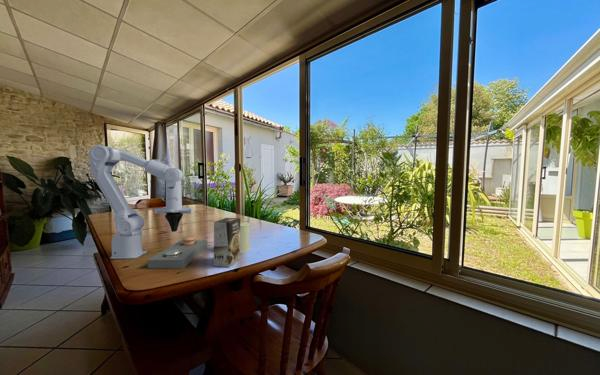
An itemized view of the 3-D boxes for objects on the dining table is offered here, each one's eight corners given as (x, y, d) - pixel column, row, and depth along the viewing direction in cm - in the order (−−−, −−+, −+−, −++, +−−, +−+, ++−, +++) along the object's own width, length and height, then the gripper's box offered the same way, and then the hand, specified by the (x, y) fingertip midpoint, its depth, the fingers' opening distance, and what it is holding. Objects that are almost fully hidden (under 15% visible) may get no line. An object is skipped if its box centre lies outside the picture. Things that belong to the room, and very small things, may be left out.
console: (147, 268, 84) (147, 259, 84) (180, 247, 109) (180, 240, 109) (183, 268, 85) (182, 259, 84) (207, 246, 109) (207, 240, 109)
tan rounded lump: (179, 249, 101) (179, 239, 101) (185, 245, 106) (185, 236, 106) (192, 249, 101) (192, 239, 101) (197, 245, 106) (197, 236, 106)
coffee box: (229, 267, 85) (229, 222, 85) (213, 266, 87) (212, 221, 86) (241, 259, 94) (241, 217, 94) (225, 257, 96) (225, 217, 95)
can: (252, 247, 109) (252, 221, 109) (244, 254, 100) (244, 225, 100) (233, 246, 111) (233, 220, 110) (223, 252, 102) (223, 224, 101)
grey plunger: (162, 264, 87) (161, 253, 87) (169, 259, 92) (169, 249, 92) (176, 264, 87) (176, 253, 87) (183, 259, 92) (183, 249, 92)
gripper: (149, 198, 94) (150, 233, 95) (188, 199, 95) (188, 233, 95) (159, 197, 101) (160, 229, 102) (195, 197, 102) (195, 229, 102)
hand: (174, 231), depth 99 cm, fingers closed
